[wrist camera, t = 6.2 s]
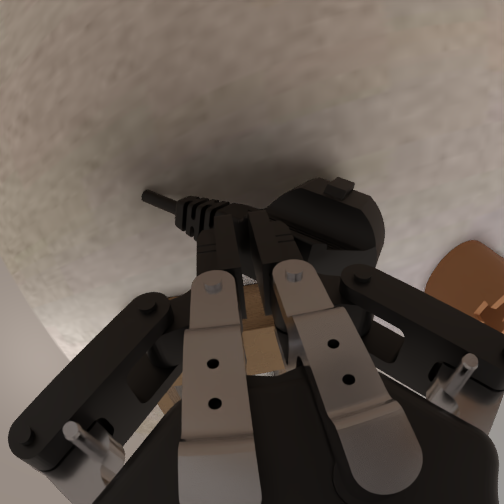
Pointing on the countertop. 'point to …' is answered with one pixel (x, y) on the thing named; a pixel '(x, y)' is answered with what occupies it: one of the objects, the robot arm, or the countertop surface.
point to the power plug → (296, 223)
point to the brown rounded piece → (471, 283)
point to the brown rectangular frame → (246, 344)
